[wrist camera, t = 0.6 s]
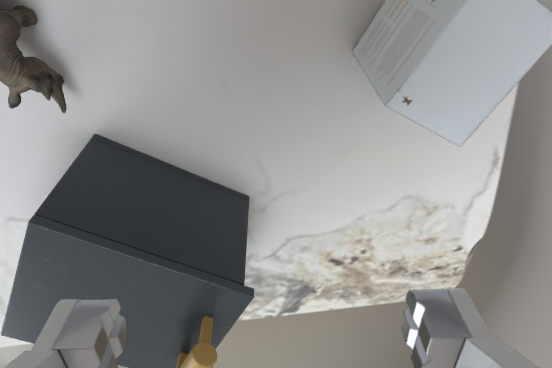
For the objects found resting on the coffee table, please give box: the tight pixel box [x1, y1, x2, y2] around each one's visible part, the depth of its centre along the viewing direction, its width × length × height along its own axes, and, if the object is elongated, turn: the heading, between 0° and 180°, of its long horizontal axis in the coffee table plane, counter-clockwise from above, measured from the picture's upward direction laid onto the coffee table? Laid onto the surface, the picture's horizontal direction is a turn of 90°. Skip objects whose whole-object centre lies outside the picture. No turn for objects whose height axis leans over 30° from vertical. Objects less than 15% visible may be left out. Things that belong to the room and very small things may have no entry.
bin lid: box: [1, 215, 254, 368], centre depth 28 cm, size 15×12×5 cm
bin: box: [35, 134, 249, 285], centre depth 35 cm, size 14×12×11 cm
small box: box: [352, 0, 552, 146], centre depth 25 cm, size 8×6×10 cm
